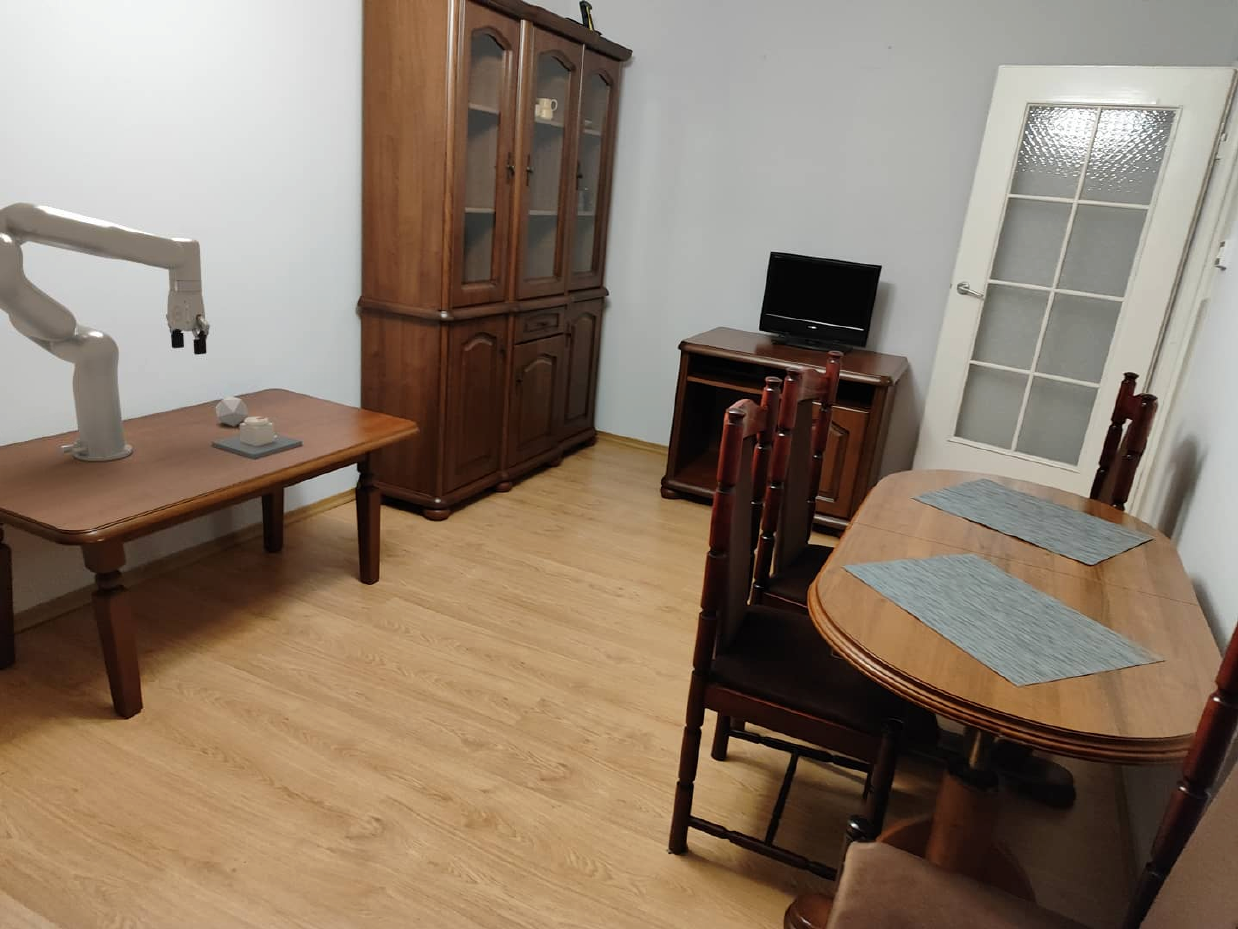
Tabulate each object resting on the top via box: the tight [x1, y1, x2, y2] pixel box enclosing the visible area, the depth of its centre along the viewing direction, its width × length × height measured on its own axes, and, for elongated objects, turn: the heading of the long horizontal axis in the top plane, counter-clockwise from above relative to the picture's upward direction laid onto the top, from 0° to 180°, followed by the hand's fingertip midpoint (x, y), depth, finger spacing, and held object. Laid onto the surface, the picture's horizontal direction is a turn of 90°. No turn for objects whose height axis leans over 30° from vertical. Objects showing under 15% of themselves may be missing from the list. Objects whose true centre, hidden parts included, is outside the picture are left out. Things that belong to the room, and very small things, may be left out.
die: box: [215, 395, 249, 427], centre depth 238 cm, size 8×9×10 cm
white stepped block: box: [239, 416, 275, 446], centre depth 221 cm, size 6×6×6 cm
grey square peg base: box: [211, 432, 303, 460], centre depth 222 cm, size 16×16×5 cm
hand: (189, 350), depth 219 cm, fingers open, 9 cm apart
